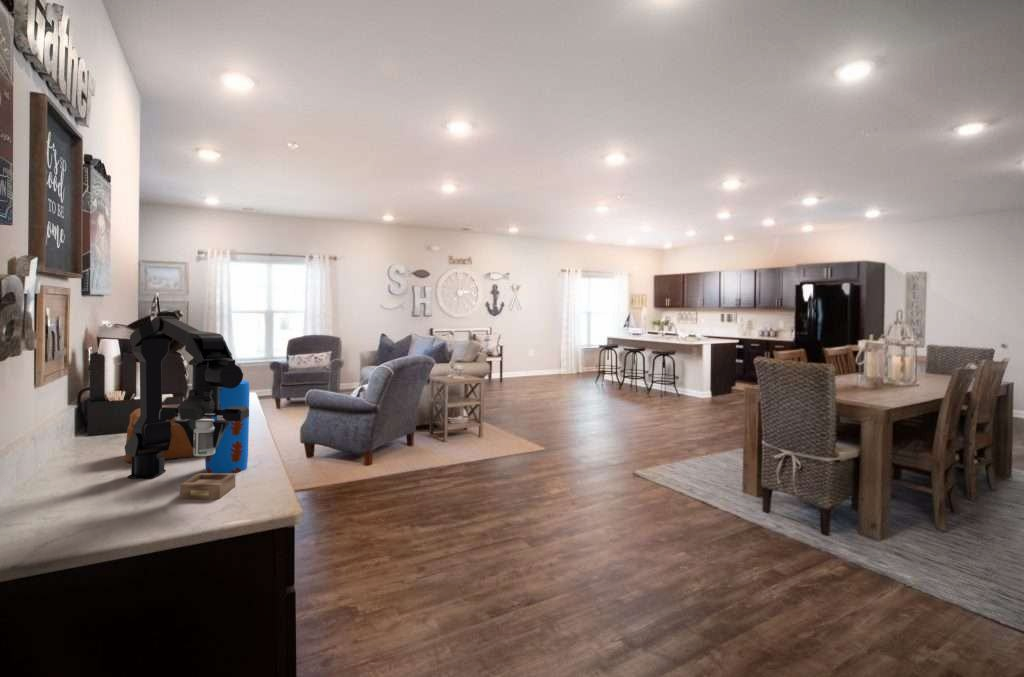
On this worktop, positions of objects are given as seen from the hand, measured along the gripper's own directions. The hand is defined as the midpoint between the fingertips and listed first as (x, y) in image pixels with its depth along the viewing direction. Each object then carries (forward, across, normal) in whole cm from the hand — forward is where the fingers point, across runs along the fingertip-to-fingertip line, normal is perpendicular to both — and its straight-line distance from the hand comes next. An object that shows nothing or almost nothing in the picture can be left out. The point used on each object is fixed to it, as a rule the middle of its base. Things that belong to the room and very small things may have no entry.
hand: (204, 447), depth 127 cm
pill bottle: (+2, 0, 0) cm, 2 cm away
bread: (+12, -25, +36) cm, 45 cm away
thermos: (+12, -4, +21) cm, 24 cm away
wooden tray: (+12, +1, +1) cm, 12 cm away
